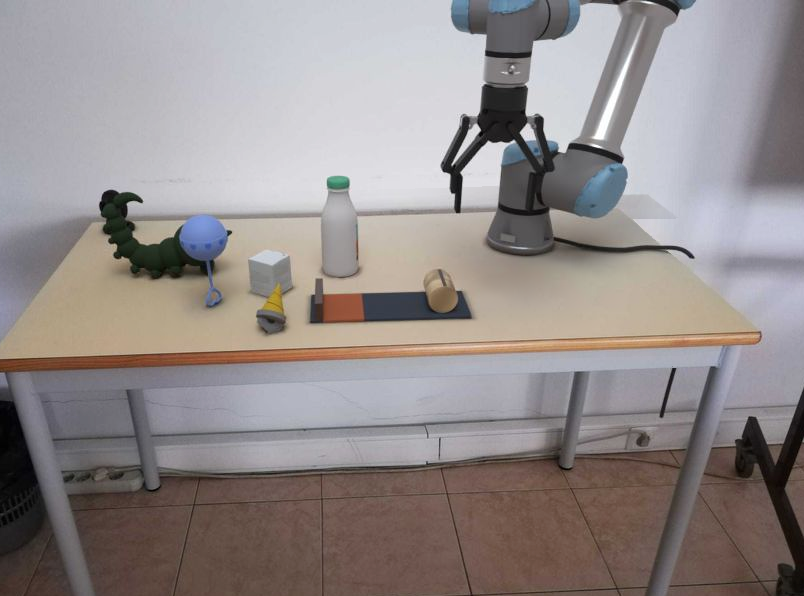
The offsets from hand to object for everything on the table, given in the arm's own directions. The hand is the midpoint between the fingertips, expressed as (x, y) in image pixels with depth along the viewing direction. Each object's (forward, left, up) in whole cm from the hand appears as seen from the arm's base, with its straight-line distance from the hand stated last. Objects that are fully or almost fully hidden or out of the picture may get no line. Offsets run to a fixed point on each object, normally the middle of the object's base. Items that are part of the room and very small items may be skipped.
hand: (493, 210), depth 122 cm
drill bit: (+41, +6, -19) cm, 45 cm away
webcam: (+82, -46, -19) cm, 95 cm away
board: (+19, 0, -19) cm, 26 cm away
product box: (+42, -9, -19) cm, 47 cm away
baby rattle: (+53, -3, -19) cm, 56 cm away
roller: (+9, 0, -15) cm, 18 cm away
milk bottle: (+28, -18, -19) cm, 38 cm away
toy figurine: (+63, -19, -19) cm, 68 cm away
